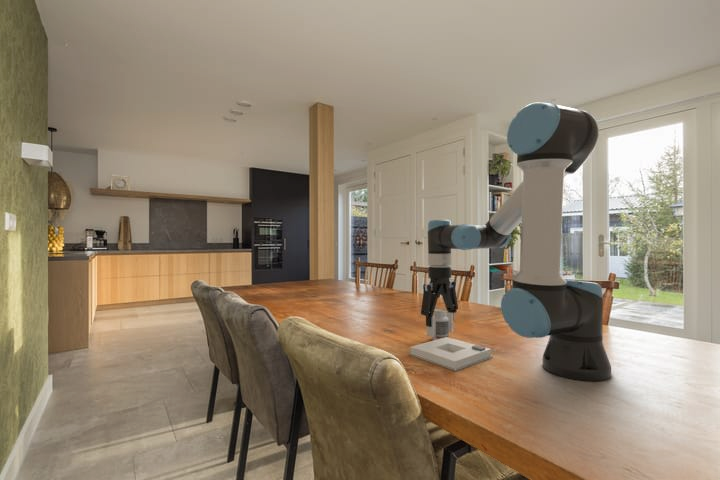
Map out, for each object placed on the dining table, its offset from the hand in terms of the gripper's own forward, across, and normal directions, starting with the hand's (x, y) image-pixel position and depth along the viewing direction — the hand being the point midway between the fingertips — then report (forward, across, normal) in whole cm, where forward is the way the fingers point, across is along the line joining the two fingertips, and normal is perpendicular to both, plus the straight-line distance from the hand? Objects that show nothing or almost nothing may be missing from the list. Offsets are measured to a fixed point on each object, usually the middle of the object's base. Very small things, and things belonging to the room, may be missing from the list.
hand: (440, 333), depth 122 cm
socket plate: (+2, +11, +13) cm, 17 cm away
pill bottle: (+2, 0, 0) cm, 2 cm away
